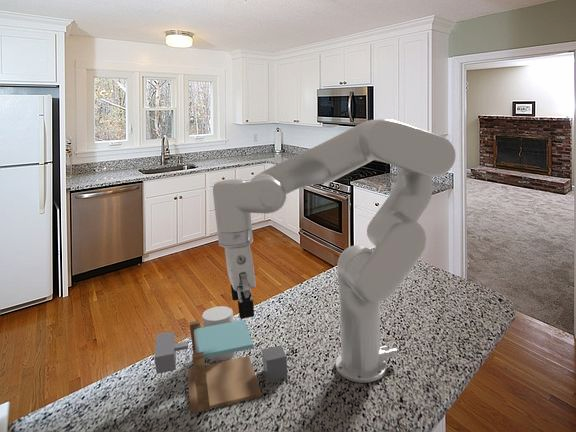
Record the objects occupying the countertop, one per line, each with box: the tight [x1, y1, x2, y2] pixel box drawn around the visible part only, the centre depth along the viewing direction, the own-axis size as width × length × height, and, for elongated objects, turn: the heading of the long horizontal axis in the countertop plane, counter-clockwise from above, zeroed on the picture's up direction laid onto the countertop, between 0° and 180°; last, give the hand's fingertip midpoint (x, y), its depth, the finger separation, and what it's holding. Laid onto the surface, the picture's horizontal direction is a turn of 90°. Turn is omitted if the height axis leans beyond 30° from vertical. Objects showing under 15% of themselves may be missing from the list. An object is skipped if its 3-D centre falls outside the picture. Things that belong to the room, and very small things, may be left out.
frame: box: [187, 320, 263, 414], centre depth 90 cm, size 16×16×14 cm
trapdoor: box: [154, 319, 255, 375], centre depth 88 cm, size 21×13×4 cm, turn 106°
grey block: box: [261, 345, 289, 383], centre depth 94 cm, size 5×5×6 cm
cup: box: [201, 305, 237, 362], centre depth 103 cm, size 8×8×12 cm
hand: (242, 307), depth 87 cm, fingers open, 9 cm apart
